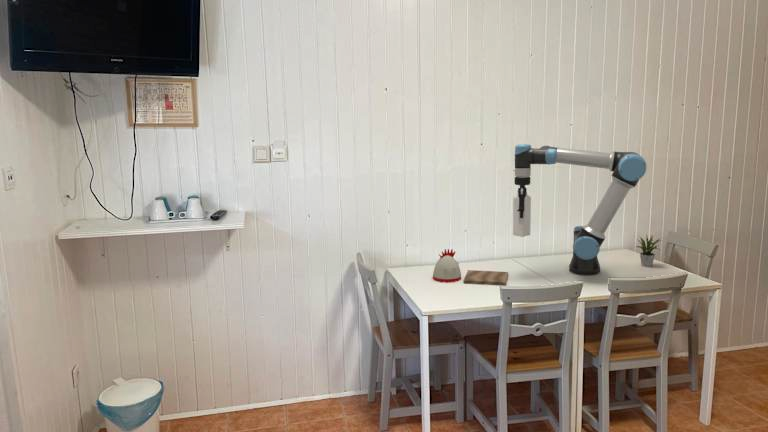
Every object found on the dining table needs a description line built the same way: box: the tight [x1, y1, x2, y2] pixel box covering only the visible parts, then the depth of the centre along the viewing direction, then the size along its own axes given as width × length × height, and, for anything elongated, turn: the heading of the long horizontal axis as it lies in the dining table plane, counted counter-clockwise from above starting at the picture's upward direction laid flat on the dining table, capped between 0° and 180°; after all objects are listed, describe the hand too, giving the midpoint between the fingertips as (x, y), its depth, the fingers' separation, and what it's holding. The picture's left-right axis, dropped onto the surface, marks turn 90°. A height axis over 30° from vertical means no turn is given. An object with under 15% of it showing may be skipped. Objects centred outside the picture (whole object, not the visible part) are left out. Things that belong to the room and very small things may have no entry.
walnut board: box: [462, 269, 509, 286], centre depth 304 cm, size 20×18×2 cm
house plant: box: [635, 234, 663, 268], centre depth 318 cm, size 14×14×16 cm
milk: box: [512, 190, 532, 238], centre depth 304 cm, size 6×6×22 cm
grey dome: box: [432, 248, 462, 283], centre depth 306 cm, size 14×14×15 cm
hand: (521, 222), depth 305 cm, fingers closed on milk, 8 cm apart
